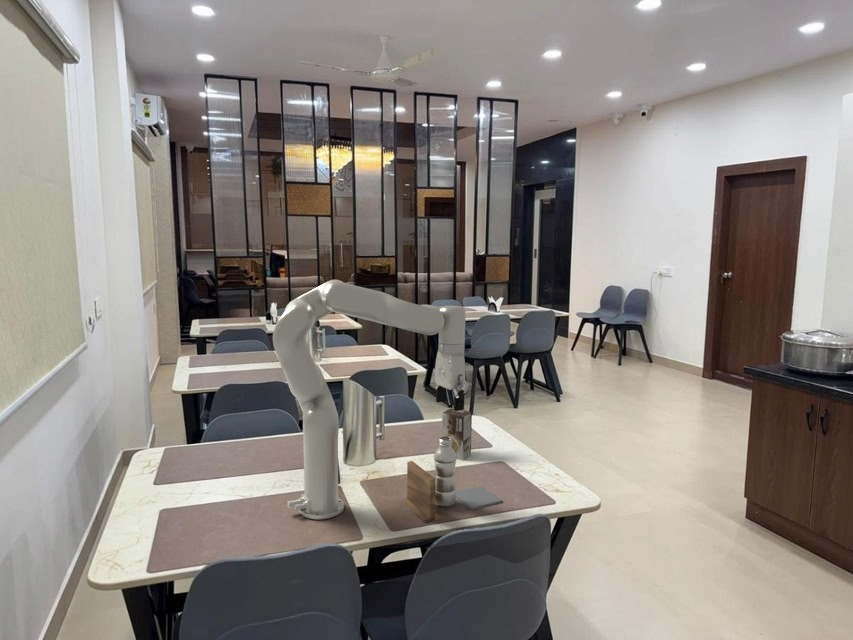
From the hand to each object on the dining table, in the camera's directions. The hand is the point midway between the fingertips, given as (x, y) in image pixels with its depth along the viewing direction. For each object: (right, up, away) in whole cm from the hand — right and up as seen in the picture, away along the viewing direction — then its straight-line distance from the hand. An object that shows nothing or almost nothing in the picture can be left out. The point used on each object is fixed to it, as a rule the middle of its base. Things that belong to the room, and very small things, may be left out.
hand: (449, 405), depth 164 cm
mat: (+8, -28, +4) cm, 30 cm away
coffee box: (+4, -24, +38) cm, 45 cm away
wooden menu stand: (-9, -29, -4) cm, 31 cm away
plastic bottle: (-1, -29, 0) cm, 29 cm away
